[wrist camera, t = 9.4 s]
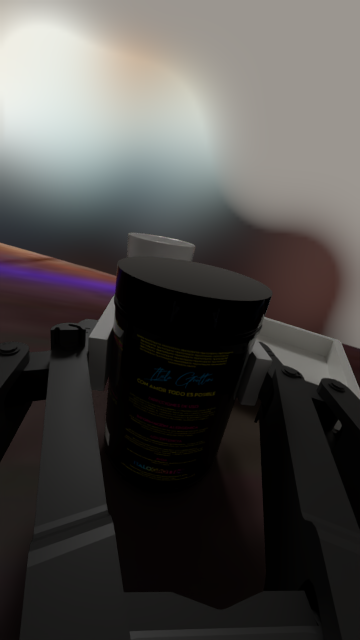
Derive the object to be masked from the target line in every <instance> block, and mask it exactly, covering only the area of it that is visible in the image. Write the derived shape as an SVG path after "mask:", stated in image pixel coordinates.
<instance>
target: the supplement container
mask: <svg viewBox="0 0 360 640" xmlns="http://www.w3.org/2000/svg"><path fill="white" fill-rule="evenodd" d="M271 296H272V291H271V290H270V289H269V288H268V287H267V286H265V285H264V284H262V283H260V282H258V281H256V280H254V279H252V278H249V277H247V276H244V275H241V274H238V273H236V272H232V271H229V270H225V269H222V268H218V267H214V266H210V265H206V264H201V263H196V262H191V261H186V260H179V259H172V258H163V257H150V256H137V257H127V258H124V259H121V260H119V261H118V264H117V277H116V289H115V295H114V305H115V311H114V323H113V336H112V348H111V360H110V373H109V385H108V397H107V409H106V422H105V434H104V444H105V450H106V453H107V456H108V458H109V460H110V462H111V464H112V465H113V467H114V468H115V470H116V471H117V472H118V473H119V474H120V476H121V477H123V478H124V479H125V480H126V481H127V482H129V483H130V484H132V485H134V486H136V487H138V488H140V489H143V490H146V491H149V492H155V493H173V492H178V491H182V490H184V489H187V488H189V487H191V486H193V485H194V484H196V483H197V482H199V481H200V480H201V479H202V478H203V477H204V476H206V474H207V473H208V472H209V471H210V469H211V467H212V466H213V463H214V461H215V458H216V455H217V452H218V449H219V446H220V443H221V440H222V437H223V435H224V432H225V429H226V426H227V423H228V420H229V417H230V414H231V411H232V408H233V405H234V402H235V399H236V397H237V394H238V391H239V388H240V385H241V382H242V379H243V376H244V373H245V370H246V367H247V364H248V361H249V358H250V356H251V353H252V350H253V347H254V344H255V341H256V338H257V335H258V334H259V333H260V331H261V328H262V323H263V320H264V317H265V314H266V311H267V308H268V305H269V302H270V300H271Z"/></svg>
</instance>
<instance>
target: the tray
mask: <svg viewBox="0 0 360 640" xmlns="http://www.w3.org/2000/svg"><path fill="white" fill-rule="evenodd" d="M256 339H257V341H258V342H263V343H264V344H265V345H267V346H268V347H269V348H270V349H271V350H272V352H273V353H274V354H275V355H276V357H277V358H278V359H279V360H280V362H281V363H282V364H283V365H284V366H288V367H291V368H294V369H295V370H297V371H299V372H300V373H301V374H302V375H303V377H304V379H305V381H306V382H309V383H313V384H316V385H319V383H320V381H321V379H323V378H330V379H335V380H337V381H340V382H341V383H342V384H344V385H346V386H347V387H348V388H349V389H350V390H351V391H352V392H353V393H354V394H355V395H356V396H357V397H358V398H359V399H360V389H359V387H358V384H357V382H356V379H355V377H354V374H353V372H352V369H351V367H350V364H349V361H348V359H347V356H346V354H345V351H344V349H343V346H342V344H341V341H339V340H336V339H333V338H330V337H327V336H323V335H320V334H317V333H314V332H311V331H307V330H304V329H301V328H298V327H295V326H291V325H288V324H285V323H282V322H279V321H275V320H272V319H269V318H266V317H264V320H263V323H262V328H261V331H260V333H259V334H258V335H257V338H256ZM341 427H342V424H341V423H340V421H339V420H338V421H337V423H336V424H335V426H334V429H337V430H340V429H341Z"/></svg>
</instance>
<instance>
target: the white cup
mask: <svg viewBox="0 0 360 640" xmlns="http://www.w3.org/2000/svg"><path fill="white" fill-rule="evenodd" d="M194 250H195V245H193V244H191V243H188V242H184V241H180V240H176V239H172V238H167V237H161V236H156V235H149V234H142V233H129V234H128V250H127V257H137V256H150V257H163V258H172V259H179V260H186V261H191V262H192V258H193V254H194Z"/></svg>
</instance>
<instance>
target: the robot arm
mask: <svg viewBox="0 0 360 640" xmlns="http://www.w3.org/2000/svg"><path fill="white" fill-rule="evenodd" d="M114 311H115V305H114V296H113V298H112V300H111V301H110V303H109V305H108V306H107V308H106V310H105V311H104V313H103V314H102V316H101V318H100V319H99V321H98V320H90V319H85V320H83V321H81V322H79V323H78V324H76V323H61V324H58V325H55V326H53V327H52V328H51V350H50V351H44V352H29V347H28V345H26V344H24V343H20V342H7V343H6V342H5V343H1V344H0V462H1V460H2V458H3V456H4V454H5V452H6V450H7V449H8V447H9V445H10V443H11V441H12V439H13V437H14V436H15V434H16V432H17V430H18V428H19V426H20V424H21V423H22V421H23V419H24V417H25V415H26V413H27V411H28V410H29V408H30V406H31V404H32V401H38V400H46V408H45V419H44V429H43V440H42V451H41V462H40V472H39V483H38V494H37V505H36V515H35V526H34V535H33V540H32V542H31V543H30V548H29V554H28V562H27V571H26V580H25V590H24V600H23V609H22V619H21V629H20V639H19V640H360V399H359V398H358V397H357V396H356V395H355V394H354V393H353V392H352V391H351V390H350V389H349V388H348V387H347V386H346V385H344V384H342V383H341V382H340V381H337V380H335V379H330V378H323V379H321V381H320V383H319V385H316V384H313V383H309V382H306V381H305V379H304V377H303V375H302V374H301V373H300V372H299V371H297V370H295V369H294V368H291V367H288V366H284V365H283V364H282V363H281V362H280V360H279V359H278V358H277V357H276V355H275V354H274V353H273V352H272V350H271V349H270V348H269V347H268V346H267V345H265V344H264V343H263V342H258V341H257V339H256V341H255V344H254V347H253V350H252V353H251V356H250V358H249V361H248V364H247V367H246V370H245V373H244V376H243V379H242V382H241V385H240V388H239V391H238V394H237V397H238V399H239V402H240V404H242V405H252V406H255V404H256V401H257V399H258V396H259V398H260V400H261V402H262V403H261V406H260V408H259V411H258V413H257V416H256V418H255V421H254V422H256V423H257V420H259V423H260V445H261V467H262V489H263V512H264V534H265V556H266V580H265V586H264V591H262V592H260V593H258V594H256V595H254V596H252V597H250V598H247V599H245V600H243V601H241V602H239V603H237V604H235V605H233V606H230V607H228V608H226V609H223V610H219V609H215V608H213V607H210V606H207V605H205V604H202V603H199V602H197V601H194V600H192V599H189V598H186V597H184V596H181V595H178V594H176V593H173V592H124V590H123V584H122V577H121V570H120V563H119V557H118V550H117V543H116V536H115V530H114V525H113V520H112V517H111V515H110V514H109V513H108V510H107V503H106V496H105V489H104V481H103V474H102V466H101V459H100V451H99V444H98V437H97V429H96V422H95V414H94V407H93V399H92V392H91V390H98V391H104V388H105V385H106V382H107V379H108V376H109V373H110V360H111V348H112V336H113V323H114ZM338 420H339V421H340V423H341V424H342V427H341V429H340V430H339V432H338V433H337V432H336V430H335V429H334V426H335V424H336V423H337V421H338Z"/></svg>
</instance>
